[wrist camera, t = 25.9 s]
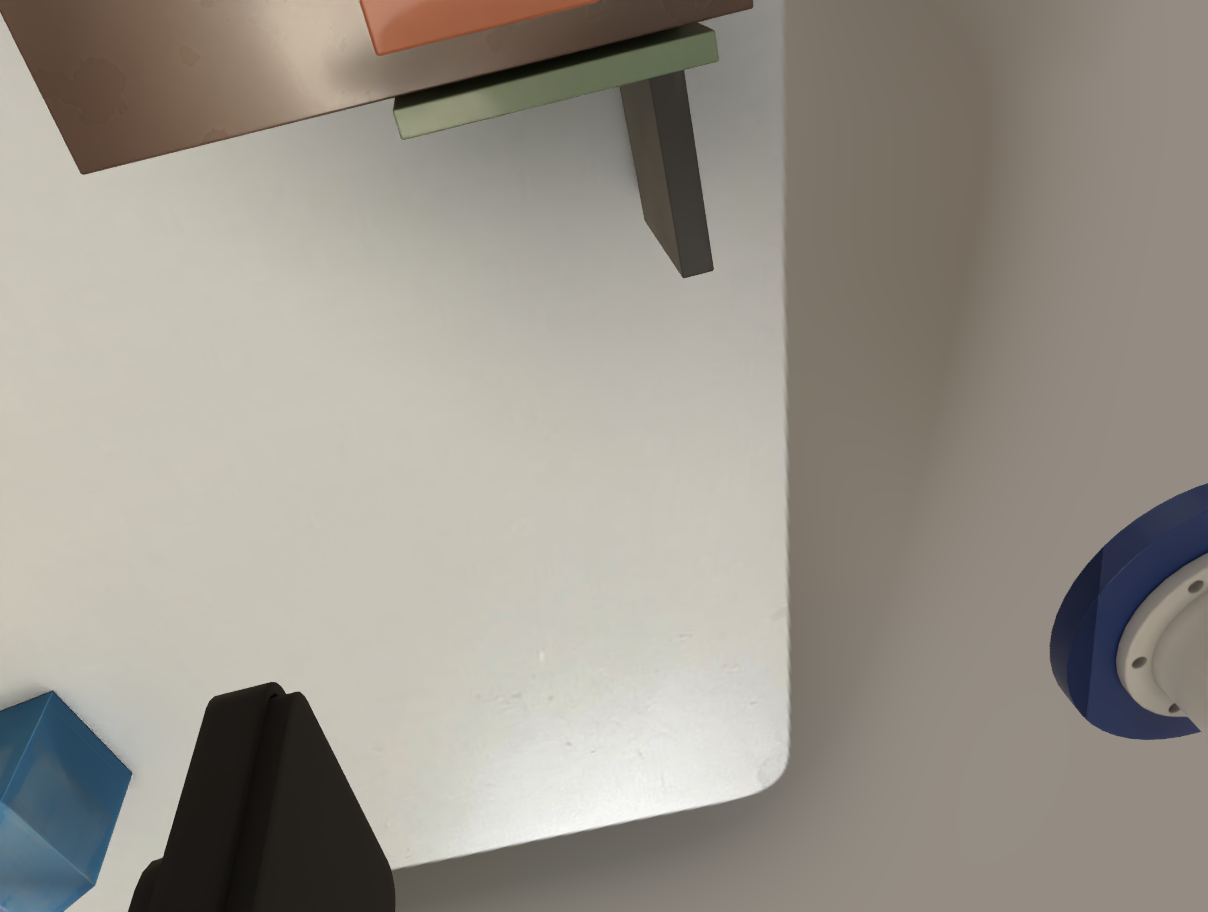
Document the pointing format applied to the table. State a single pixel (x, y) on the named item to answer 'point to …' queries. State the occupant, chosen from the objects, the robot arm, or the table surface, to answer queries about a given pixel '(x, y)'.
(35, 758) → the perfume bottle
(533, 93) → the door
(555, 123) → the table surface
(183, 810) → the robot arm
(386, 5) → the block
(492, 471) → the table surface
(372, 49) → the cabinet
